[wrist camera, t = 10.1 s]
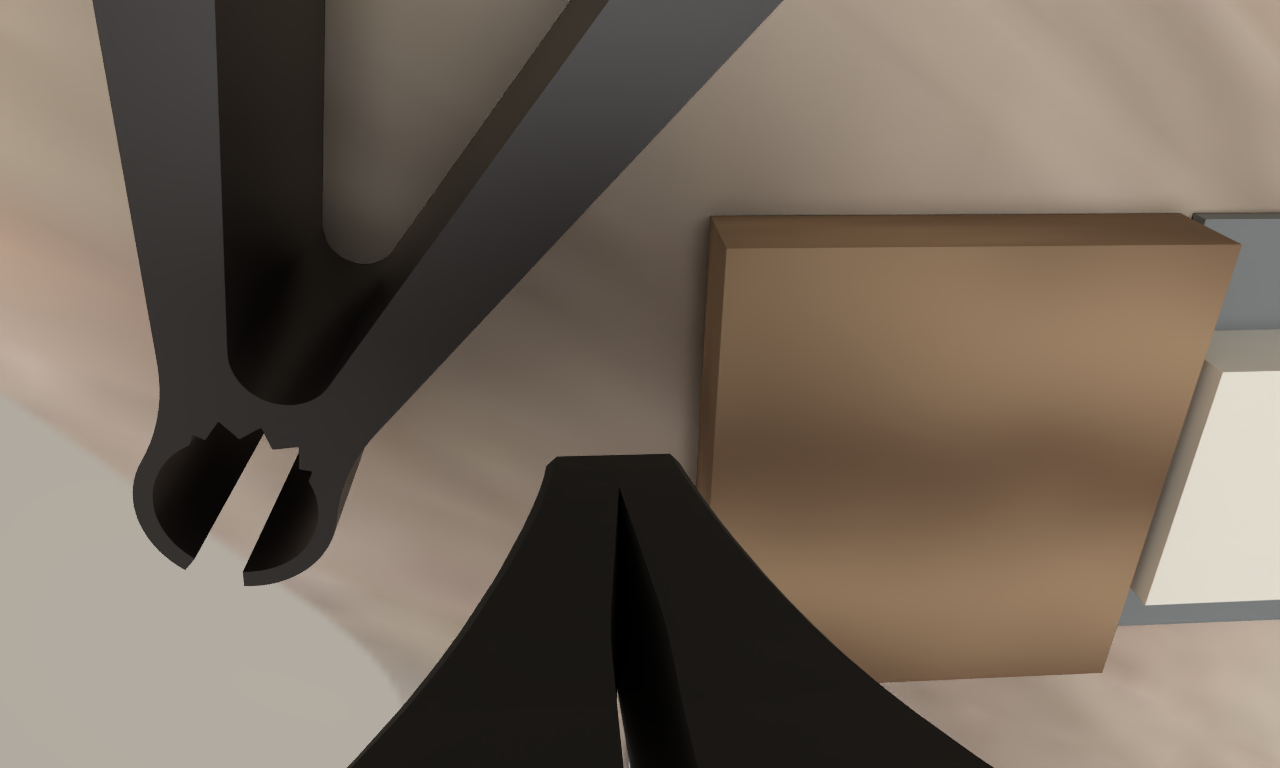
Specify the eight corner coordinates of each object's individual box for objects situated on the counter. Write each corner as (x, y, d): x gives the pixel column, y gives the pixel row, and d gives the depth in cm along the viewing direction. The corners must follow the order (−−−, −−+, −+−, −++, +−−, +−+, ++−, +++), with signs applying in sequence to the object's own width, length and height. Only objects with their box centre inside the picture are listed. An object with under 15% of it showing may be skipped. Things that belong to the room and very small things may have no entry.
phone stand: (823, -56, 11) (484, 651, 16) (736, -72, 17) (501, 463, 21) (21, -473, 9) (-99, 495, 14) (217, -336, 14) (81, 329, 19)
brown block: (1063, 617, 25) (1102, 672, 23) (688, 632, 24) (698, 690, 22) (1180, 213, 20) (1242, 244, 18) (711, 216, 19) (726, 249, 17)
